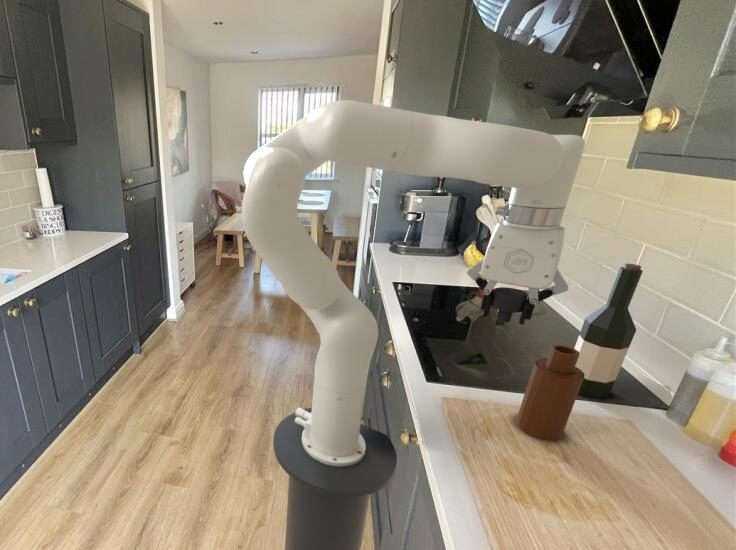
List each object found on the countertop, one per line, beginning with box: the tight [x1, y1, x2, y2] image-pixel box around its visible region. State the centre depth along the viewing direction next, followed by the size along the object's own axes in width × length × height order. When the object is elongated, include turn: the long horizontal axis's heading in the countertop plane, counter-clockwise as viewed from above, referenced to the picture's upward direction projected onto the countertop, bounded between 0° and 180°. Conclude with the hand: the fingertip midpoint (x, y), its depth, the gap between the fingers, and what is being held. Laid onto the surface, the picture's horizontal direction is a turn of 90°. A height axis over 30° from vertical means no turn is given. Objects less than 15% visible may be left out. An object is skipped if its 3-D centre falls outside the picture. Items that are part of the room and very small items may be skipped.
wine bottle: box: [573, 263, 644, 399], centre depth 87 cm, size 8×8×30 cm
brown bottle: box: [515, 344, 584, 441], centre depth 77 cm, size 7×7×18 cm
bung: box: [491, 286, 529, 323], centre depth 71 cm, size 5×5×6 cm
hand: (504, 316), depth 71 cm, fingers closed on bung, 4 cm apart
